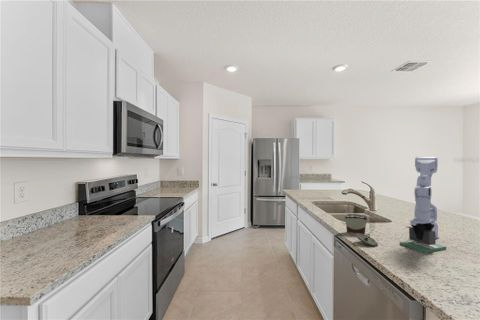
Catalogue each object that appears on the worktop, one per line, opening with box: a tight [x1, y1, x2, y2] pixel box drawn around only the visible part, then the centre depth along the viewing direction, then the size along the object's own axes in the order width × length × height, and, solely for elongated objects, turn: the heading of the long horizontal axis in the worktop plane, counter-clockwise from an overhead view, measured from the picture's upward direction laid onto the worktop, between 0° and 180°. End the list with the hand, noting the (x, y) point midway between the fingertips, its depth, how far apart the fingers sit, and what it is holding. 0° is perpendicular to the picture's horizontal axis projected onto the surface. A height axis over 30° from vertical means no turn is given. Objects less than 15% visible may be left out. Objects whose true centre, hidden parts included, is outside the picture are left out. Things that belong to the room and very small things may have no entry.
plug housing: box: [405, 225, 436, 245], centre depth 122 cm, size 4×12×6 cm, turn 20°
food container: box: [344, 213, 369, 235], centre depth 144 cm, size 12×6×10 cm, turn 74°
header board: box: [399, 239, 447, 254], centre depth 120 cm, size 15×12×4 cm
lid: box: [355, 233, 379, 247], centre depth 125 cm, size 11×10×5 cm
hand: (422, 238), depth 120 cm, fingers closed on plug housing, 4 cm apart
